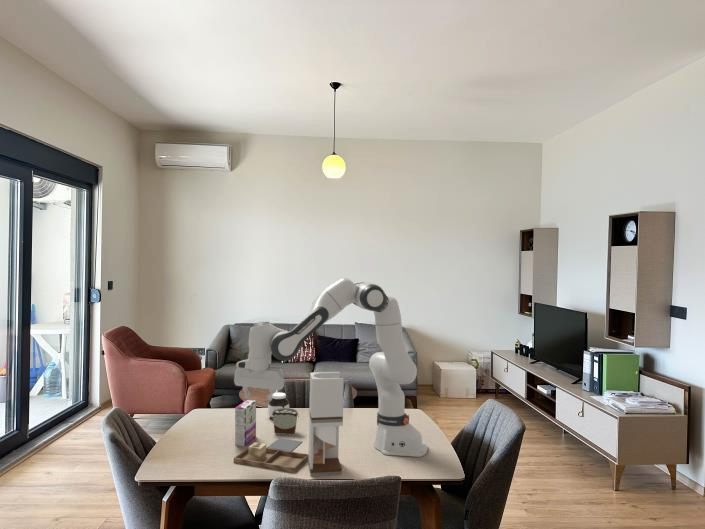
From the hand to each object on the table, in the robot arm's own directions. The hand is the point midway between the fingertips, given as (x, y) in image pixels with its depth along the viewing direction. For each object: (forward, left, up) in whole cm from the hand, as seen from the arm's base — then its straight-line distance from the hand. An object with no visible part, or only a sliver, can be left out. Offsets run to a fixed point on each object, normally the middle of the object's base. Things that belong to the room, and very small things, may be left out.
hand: (258, 399), depth 176 cm
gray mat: (-4, -16, -24) cm, 29 cm away
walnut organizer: (-6, 0, -24) cm, 24 cm away
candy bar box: (+14, -14, -24) cm, 31 cm away
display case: (-28, -2, -24) cm, 37 cm away
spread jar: (+16, -49, -24) cm, 57 cm away
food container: (+3, -31, -24) cm, 39 cm away
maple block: (0, 0, -23) cm, 23 cm away
